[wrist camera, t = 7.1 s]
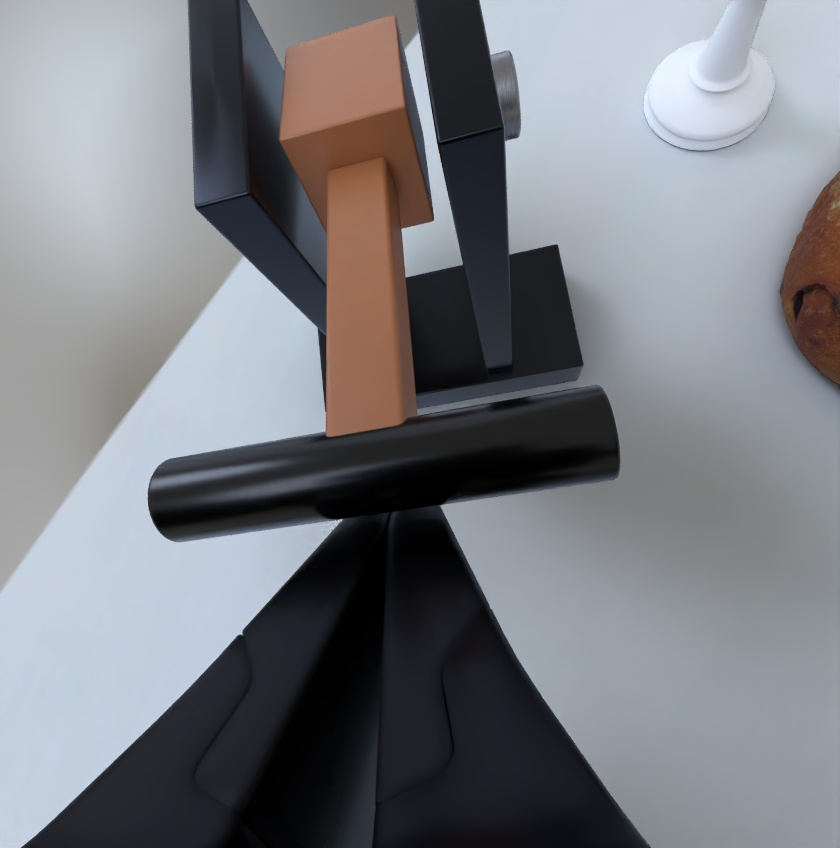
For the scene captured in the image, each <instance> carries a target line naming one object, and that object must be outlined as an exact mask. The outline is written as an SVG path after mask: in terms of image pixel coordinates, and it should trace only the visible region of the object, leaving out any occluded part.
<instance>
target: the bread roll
mask: <svg viewBox="0 0 840 848" xmlns="http://www.w3.org/2000/svg"><path fill="white" fill-rule="evenodd" d="M780 294H781V298H782V307H783V311H784V314H785V317H786V320H787V323H788V325H789V328H790V330H791V333H792V335H793V338H794V340H795V342H796V344H797V346H798V347H799V349H800V351H801V352H802V353H803V354H804V355H805V356H806V358H807V359H808V360H809V361H810V362H811V363H812V364H813V365H814V366H815V367H816V368H817V369H818V370H819V371H820V372H821V373H822V374H823V375H824V376H825V377H827V378H829V379H831V380H833V381H834V382H836V383H838V384H840V171H839V173H838V174H837V175H836V176H835V177H834V178H833V179H832V180H831V181H830V182H829V184H828V185H827V186H826V187H825V188H824V189H823V191H822V192H821V194H820V195H819V197H818V198H817V200H816V202H815V204H814V206H813V208H812V209H811V210H810V211H809V212H808V215H807V217H806V220H805V222H804V225H803V228H802V230H801V232H800V233H799V235H798V236H797V238H796V243H795V244H794V247H793V249H792V252H791V255H790V258H789V260H788V263H787V265H786V269H785V273H784V277H783V281H782V285H781V289H780Z"/></svg>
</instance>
